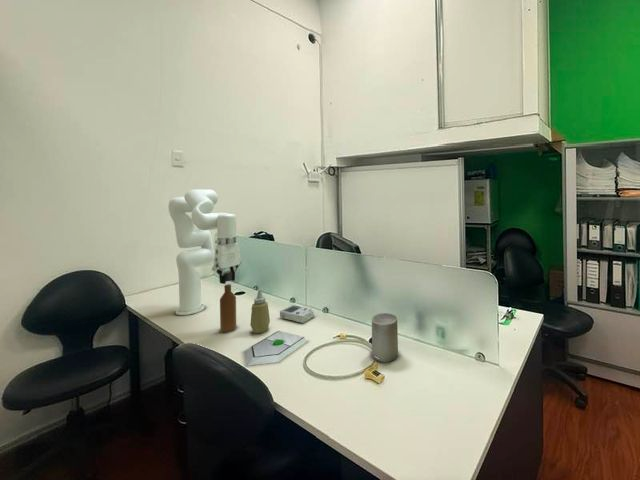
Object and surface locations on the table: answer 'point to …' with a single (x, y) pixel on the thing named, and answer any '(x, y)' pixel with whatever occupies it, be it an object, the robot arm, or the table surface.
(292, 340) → the security device
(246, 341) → the table surface
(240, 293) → the table surface
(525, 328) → the table surface
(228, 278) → the cap
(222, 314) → the bottle
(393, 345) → the pillar candle
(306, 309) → the handheld gaming device
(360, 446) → the table surface
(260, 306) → the squeeze bottle
